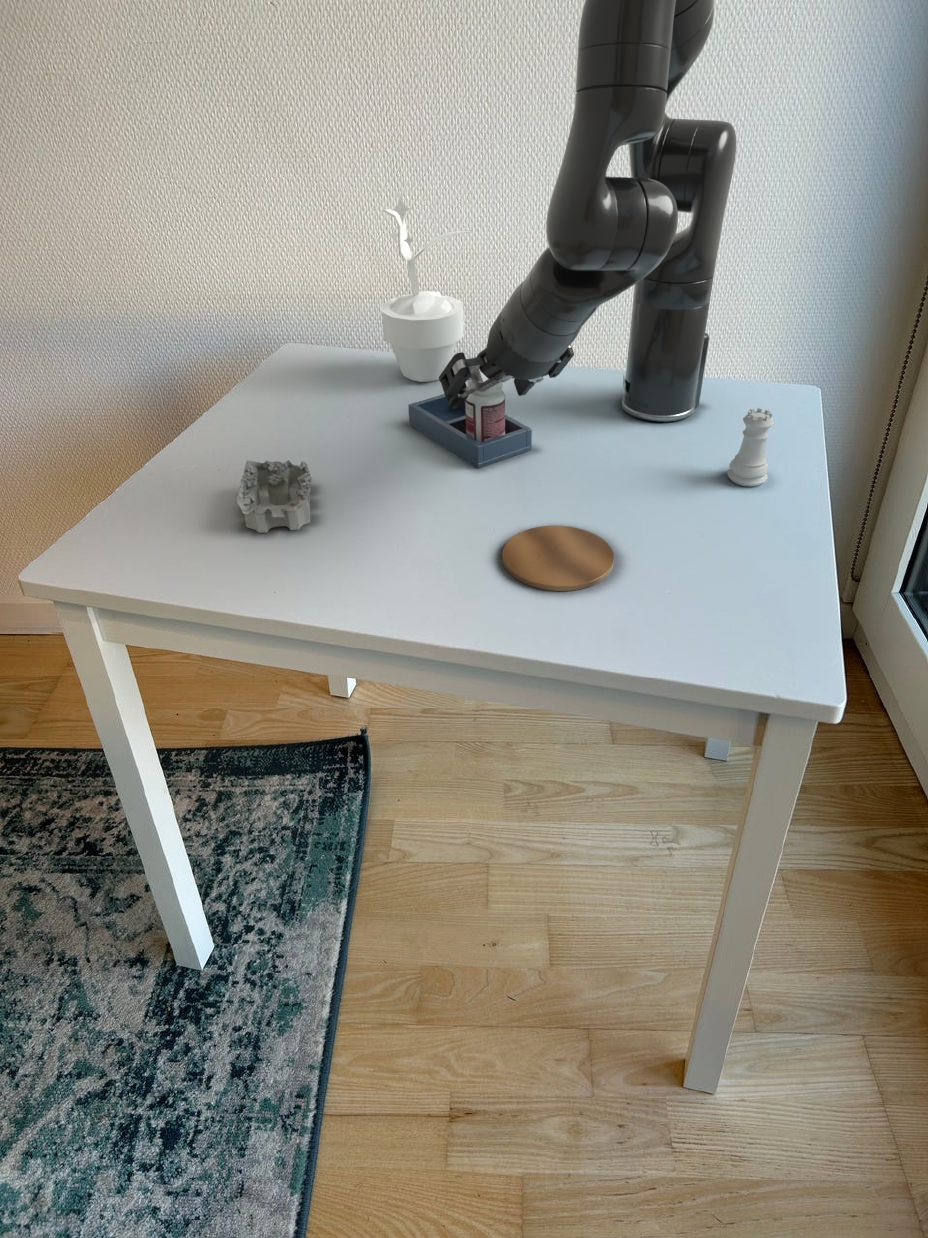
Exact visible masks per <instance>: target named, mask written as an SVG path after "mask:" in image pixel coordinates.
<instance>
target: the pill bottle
mask: <svg viewBox="0 0 928 1238" xmlns="http://www.w3.org/2000/svg"><path fill="white" fill-rule="evenodd" d="M479 371H480V370H479ZM480 374H481V377H482V379H483V382H484V381H486V380H488V378H487V377H486V376H485V375H484V374H483V373H482V372H481V371H480ZM471 383H472V381H471V380H467V387H468V386H470V385H471ZM503 386H504V385H503V382H500V383H498V384H496V385H494V386H493V387H491V388H489V389H487V390H486V391H484V392H481V391H475V392H473V393H472V394H470V395H468V398H467V399H466V400H465V404H466V435H467V436H469V437H471V438H472V439H474V440H476V441H477V442H479V443H480V442H483V441H486V440H489V439H492V438H495V437H498V436H501V435H505V415H506V394H505V391H504V390H503Z"/></svg>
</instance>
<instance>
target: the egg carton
mask: <svg viewBox="0 0 928 1238" xmlns="http://www.w3.org/2000/svg"><path fill="white" fill-rule="evenodd" d="M308 465H309V464H308V463H307V462H305V461H301V463H300V464H294V463H293V462H292V461H291V460H290V459H289V460H286V461H284V462H281V461H279V460H276V461H269V460H265V461H264V462H260V461H253V460H250V459H246V461H245V464H244V469H243V475H242V476H241V479H240V482H239V488H238V492H237V496H236V503H237V505H238V506H239V508H240V510H241V512H242V514H243V515H244V521H245V527H246V528H247V529H252V530H254V531H256V532H257V533H259V534H262V533H263V534H264V533H265V534H266V533H268V531H269V530H270V529H273V528H277V527H287V528H288V529H289V531H298V530H300V529H301V527H303V526H304V525H307V524H309V523H310V522H311V494H310V493H311V491H312V490H311V487H310V485H311V483H312V474H311V472H310V469H309V466H308Z"/></svg>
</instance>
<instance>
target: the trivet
mask: <svg viewBox="0 0 928 1238" xmlns="http://www.w3.org/2000/svg"><path fill="white" fill-rule="evenodd" d="M501 560H502V564H503V567H504V569H505V570H506V572H507V573H508V574H509V575H510V576H511V577H513V578H514V579H515V580H516V581H518V582H520V583H522V584H525V585H527V586H529V587H532V588H536V589H540V590H544V591H552V592H553V591H554V592H569V591H571V592H572V591H577V590H582V589H586V588H590V587H592V586H595V585H597V584H599V583H600V582H602V581H604V580H605V579H606V578H607V577H608V576H609V575H610V573H611V572H612V570H613V568H614V563H615V554H614V551H613V549H612V546H611V545H610V544H609V543H608V542H606V540H604V539H603V538H602V537H600V536H599V535H597V534H596V533H593V532H591V531H588V530H586V529H582V528H579V527H573V526H568V525H567V526H566V525H542V526H536V527H531V528H529V529H525V530H523V531H521V532H518V533H517V534H515V535H513V536H512V537H510V538H509V540H507V542H506V543H505V545H504V546H503V549H502V555H501Z"/></svg>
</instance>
